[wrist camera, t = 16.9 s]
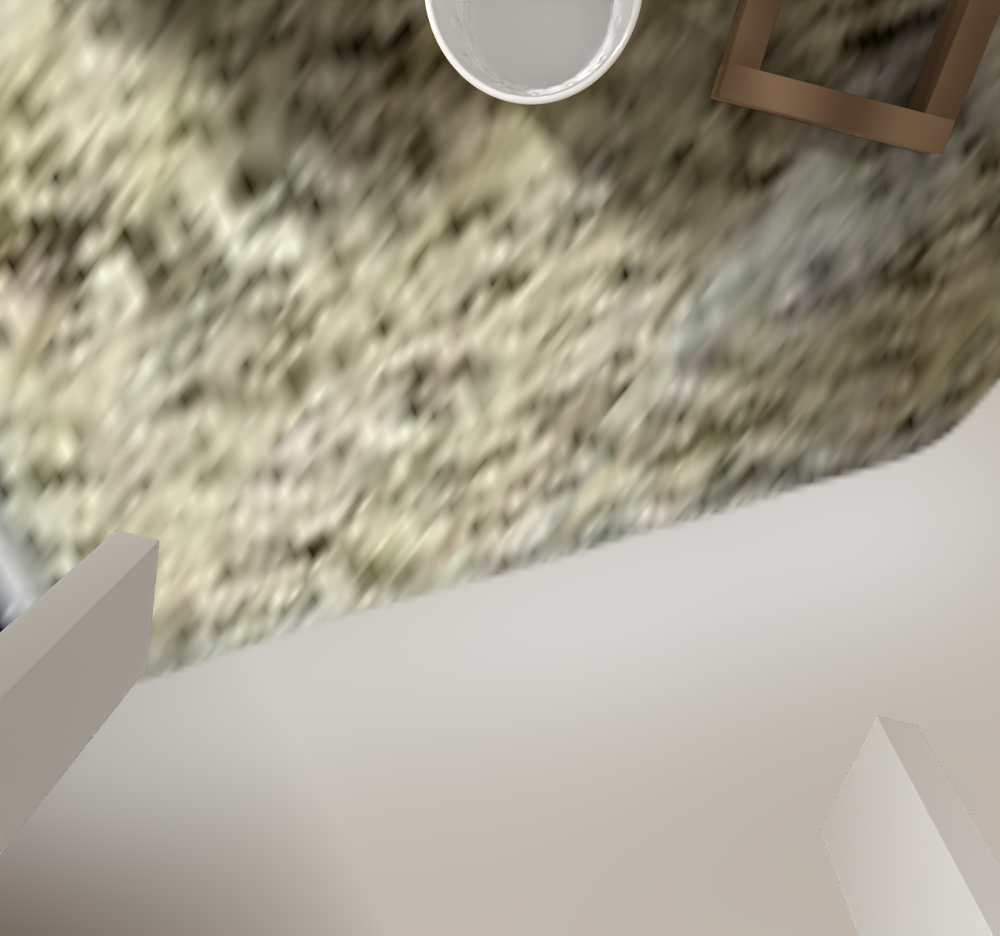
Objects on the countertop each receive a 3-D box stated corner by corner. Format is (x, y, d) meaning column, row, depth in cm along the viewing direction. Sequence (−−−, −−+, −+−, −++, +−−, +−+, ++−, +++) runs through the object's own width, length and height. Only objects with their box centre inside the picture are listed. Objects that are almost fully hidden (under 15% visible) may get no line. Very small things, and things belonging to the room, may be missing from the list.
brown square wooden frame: (709, 98, 40) (718, 96, 38) (787, -160, 36) (802, -180, 34) (920, 152, 40) (942, 153, 38) (1020, -98, 37) (1051, -114, 34)
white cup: (476, -98, 38) (447, -174, 29) (647, -56, 38) (672, -117, 29) (442, 89, 41) (405, 76, 32) (600, 128, 41) (610, 126, 32)
